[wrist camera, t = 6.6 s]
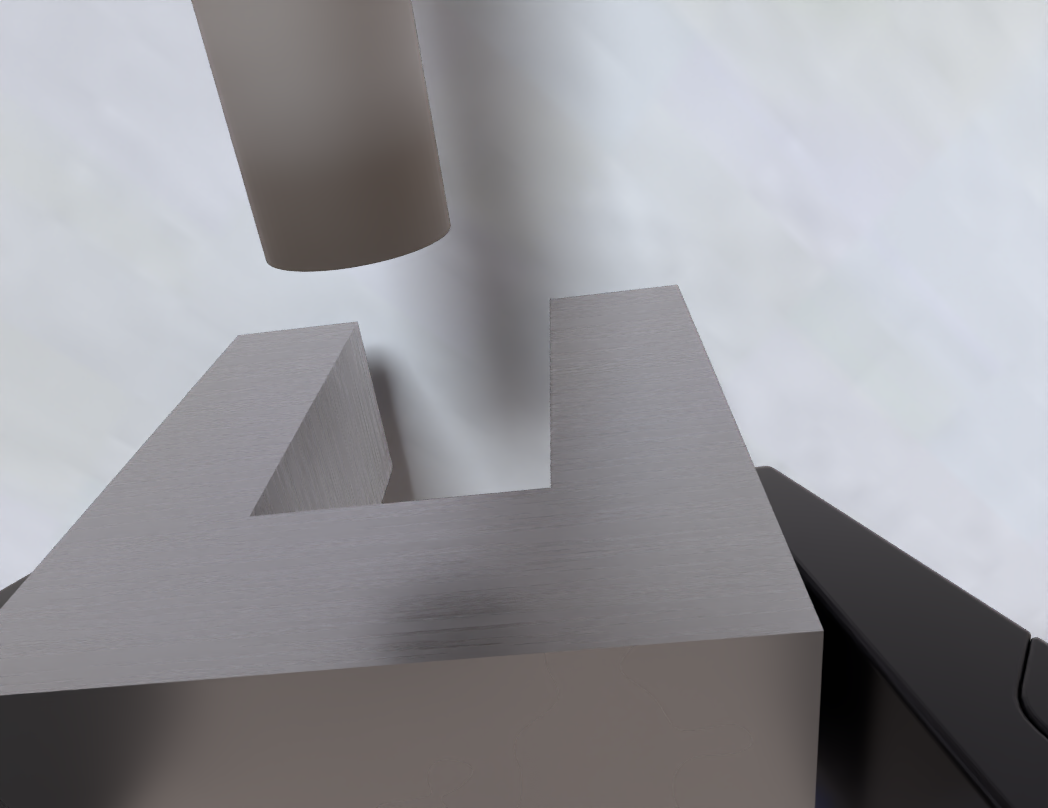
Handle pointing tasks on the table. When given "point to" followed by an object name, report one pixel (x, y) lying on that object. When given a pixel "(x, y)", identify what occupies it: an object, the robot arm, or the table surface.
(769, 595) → the metal u-shaped block
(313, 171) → the wooden mallet
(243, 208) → the table surface
